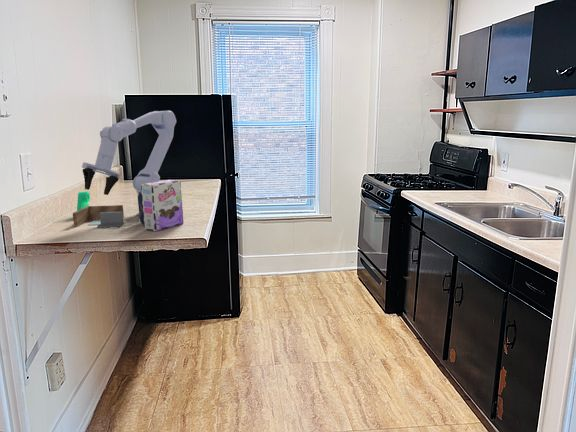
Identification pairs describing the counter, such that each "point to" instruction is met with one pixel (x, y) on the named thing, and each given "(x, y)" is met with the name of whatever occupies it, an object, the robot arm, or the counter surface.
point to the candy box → (162, 204)
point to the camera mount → (83, 200)
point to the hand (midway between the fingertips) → (96, 192)
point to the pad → (95, 222)
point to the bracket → (111, 219)
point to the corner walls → (93, 213)
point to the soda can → (140, 208)
